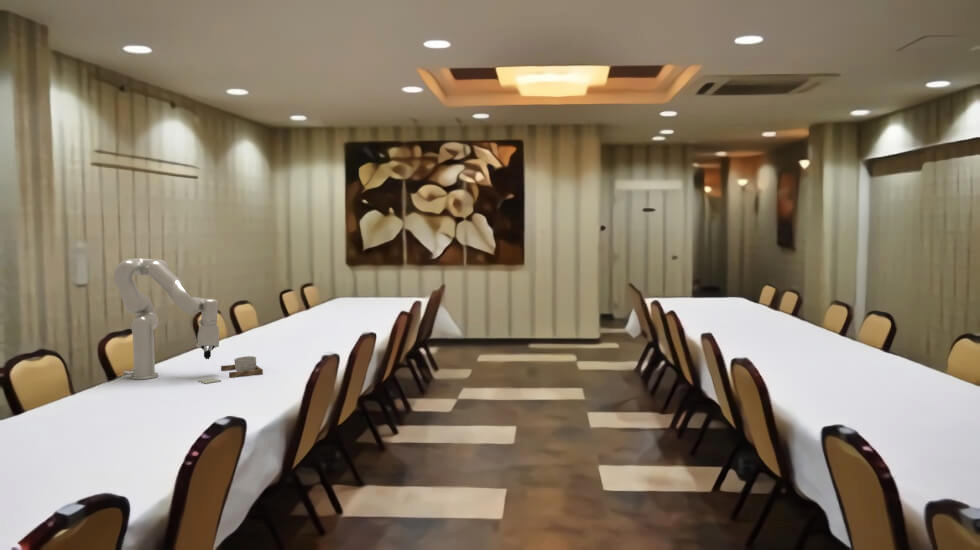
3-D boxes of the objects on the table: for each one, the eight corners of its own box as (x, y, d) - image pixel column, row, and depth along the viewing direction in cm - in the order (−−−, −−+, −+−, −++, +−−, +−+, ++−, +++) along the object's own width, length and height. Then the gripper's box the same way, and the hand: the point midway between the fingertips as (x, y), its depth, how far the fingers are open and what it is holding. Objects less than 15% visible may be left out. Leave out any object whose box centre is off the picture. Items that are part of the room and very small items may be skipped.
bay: (229, 377, 358) (229, 372, 358) (221, 370, 375) (221, 365, 374) (262, 374, 367) (262, 369, 366) (252, 367, 383) (252, 362, 383)
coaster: (205, 385, 343) (205, 382, 343) (197, 382, 348) (197, 380, 348) (221, 382, 349) (221, 380, 349) (213, 380, 354) (213, 377, 354)
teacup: (251, 375, 364) (251, 360, 363) (230, 374, 365) (230, 359, 364) (261, 369, 378) (261, 355, 377) (242, 369, 379) (242, 354, 378)
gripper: (194, 324, 353) (192, 360, 354) (225, 324, 361) (224, 359, 362) (192, 322, 359) (190, 357, 360) (222, 321, 367) (220, 356, 369)
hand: (207, 358), depth 361 cm, fingers closed
